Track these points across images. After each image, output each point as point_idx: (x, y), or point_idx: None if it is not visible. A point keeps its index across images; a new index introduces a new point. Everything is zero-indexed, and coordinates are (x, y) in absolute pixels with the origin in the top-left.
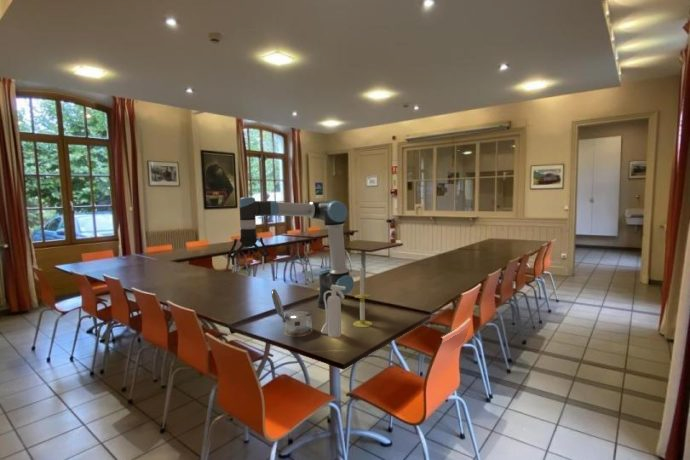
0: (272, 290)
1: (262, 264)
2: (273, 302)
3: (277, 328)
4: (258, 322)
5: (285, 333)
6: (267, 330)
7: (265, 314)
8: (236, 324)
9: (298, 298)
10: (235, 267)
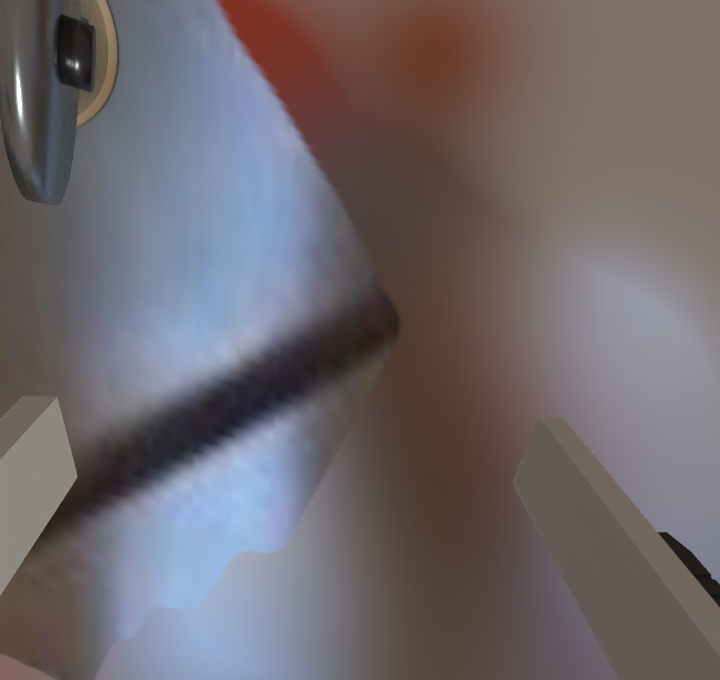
0: (13, 9)
1: (16, 543)
2: (91, 41)
3: (166, 168)
4: (270, 309)
5: (106, 16)
6: (227, 160)
7: (229, 407)
8: (378, 322)
9: (59, 561)
10: (592, 471)
